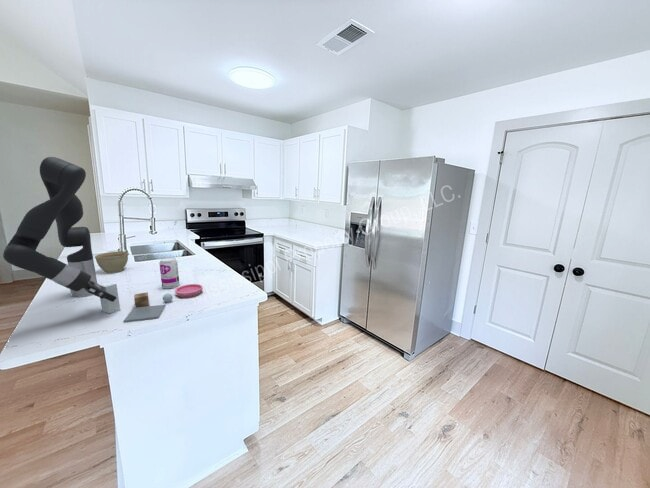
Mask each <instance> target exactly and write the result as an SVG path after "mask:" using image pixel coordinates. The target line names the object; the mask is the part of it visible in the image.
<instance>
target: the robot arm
mask: <svg viewBox="0 0 650 488" xmlns="http://www.w3.org/2000/svg"><path fill="white" fill-rule="evenodd" d="M39 176H40V178H41V181H42V183H43V185H44V187H45V189H46V192H47V195H48V196H49V199H48V200H46V201H43V202H42V203H39V204H37V205H35V206H33V207H32V208H31V209H29V210H28V212H26V213H25V215H24V216H23V219H22V220H21V222H20V223H19V225H18V227H17V229H16V232H15V234H14V235H13V236H12V238H11V239H10V240H9V242H8V243H7V245H6V246H5V248H4V250H3V254H2V255H3V256H2V257H3V260H4V261H5V262H7V263H8V264H10V265H11V266H14V267H17V268H20V269H23V270H25V271H29V272H32V273H35V274H37V275H39V276H41V277H44V278H46V279H48V280H50V281H52V282H54V283H55V284H57V285H60V286H62V287H64V288H66V289H68V290H70V295H71V297H76V298H80V297H81V298H82V297H88V296H93V295H94V297H97V298H99V299H100V298H101V299H103V298H105V299H107V300H109V301H112V302H113V301H114V300H115V299H116V297H115V296H113V295H111V294H109V293H108V292H106V291H104V289H103V288H101V287H100V286H98V284H99V283H98V279H97V273H96V267H95V261H94V255H93V250H92V240H91V231H90V229H89V228H88V227H86V226H75V225H76V224H78V223H79V221H81V220H82V218H83V216H84V210H83V209H84V208H83V203H82V201H81V199H80V198H79V197H78V196H77V192H78V191H79V189H80V188H81V187H82V185H84V182H85V179H86V176H87V172H86V171H85V169H84V168H83V167H81V166H78V165H76V164H74V163H72V162H70V161H66V160H64V159H61V158H59V157H56V156H47V157H45V158H43V159H42V161H41V162H40V165H39ZM54 222H56V229H57V237H58V240H59V241H58V242H59V243H60V245H61V246H63V248H76V247H82V248H80V249H79V250H77V251H75V252H73V253H70V254H68V255H67V256H66V261H67V263H64V262H63V261H61V260H59V259H57V258H54V257H51V256H47V255H46V254H45V255H44V254H43V253H41V252H39V251H37V249H38V246H39V245H40V243H41V241H42V240H43V239H44V238H45V237H46V235H47V234H48V232H49V230H50V229H51V227H52V224H53V223H54ZM101 292H102V293H103V294H102V295H100V293H101Z"/></svg>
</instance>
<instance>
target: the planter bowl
mask: <svg viewBox="0 0 650 488" xmlns="http://www.w3.org/2000/svg"><path fill="white" fill-rule="evenodd" d="M94 258H95V262H96V264H97V266H98V267H99V268H100V269H101V270H102V271H104V273H105V272H106V274H113V273H114V272H115V273H119V272H122V271H124V269H125V267H126V266H127V263H128V259H129V252H127V251H110V252H105V253H100V254H97V255H94Z"/></svg>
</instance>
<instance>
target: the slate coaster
mask: <svg viewBox="0 0 650 488" xmlns="http://www.w3.org/2000/svg"><path fill="white" fill-rule="evenodd" d="M165 308H166V304H160V305H159V304H157V305H149V306H147V307H137V308H135V307H133V308H132V309H131V311H130V312H129V313H128V315H127V316H126V317H124V320H123V323H130V322H131V323H132V322H140V321H147V320H149V321H150V320H156V319H159V318H160V317H161V315H162V313H163V312H164V310H165Z"/></svg>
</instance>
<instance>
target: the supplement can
mask: <svg viewBox="0 0 650 488" xmlns="http://www.w3.org/2000/svg"><path fill="white" fill-rule="evenodd" d="M159 271H160V282H161V287H162V288H164V289H174V288H175V289H176V288H178V287H179V286H180V276H179V267H178V261H177V259H176V257H166V258H162V259H160V261H159Z"/></svg>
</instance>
